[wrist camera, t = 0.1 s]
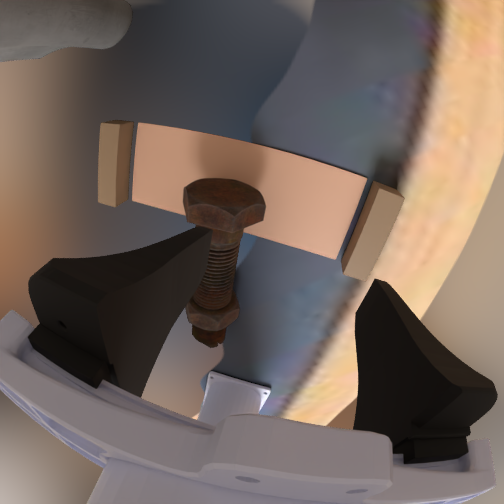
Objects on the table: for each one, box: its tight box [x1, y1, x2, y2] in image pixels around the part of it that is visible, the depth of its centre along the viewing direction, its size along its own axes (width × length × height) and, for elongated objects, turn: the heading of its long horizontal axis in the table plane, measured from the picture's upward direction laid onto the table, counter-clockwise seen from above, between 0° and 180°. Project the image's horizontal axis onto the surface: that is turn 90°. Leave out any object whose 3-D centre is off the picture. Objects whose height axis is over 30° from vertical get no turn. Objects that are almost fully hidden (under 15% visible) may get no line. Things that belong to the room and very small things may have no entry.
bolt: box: [183, 178, 266, 348], centre depth 22 cm, size 6×5×15 cm
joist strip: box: [98, 120, 405, 281], centre depth 20 cm, size 7×23×2 cm, turn 78°
